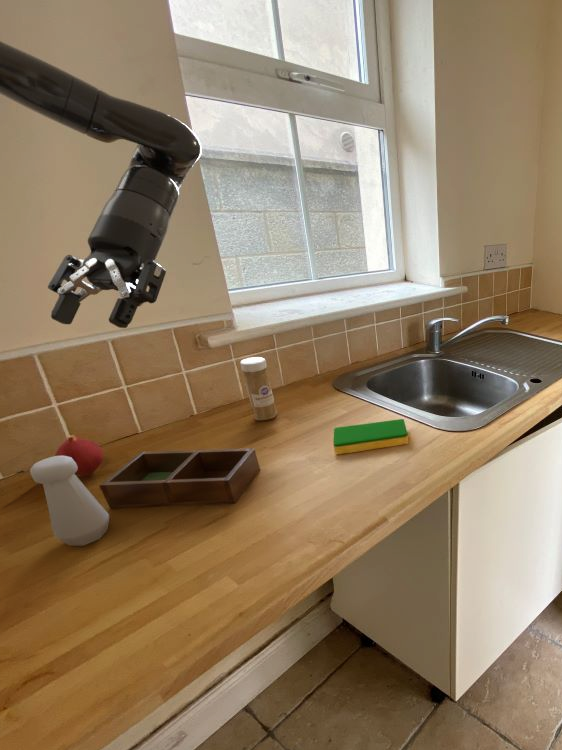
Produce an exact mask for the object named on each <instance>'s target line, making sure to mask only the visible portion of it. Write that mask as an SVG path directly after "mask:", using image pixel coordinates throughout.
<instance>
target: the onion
mask: <svg viewBox="0 0 562 750" xmlns="http://www.w3.org/2000/svg"><path fill="white" fill-rule="evenodd" d="M104 454H105V453H104V451H103V450H102V447H100V446H99V445H98V444H97V443H96V442H95V441H92V440H90V439H89V440H88V439H85V438H80V437H79V438H78V437H77V436H75V435H69V436H67V438H66V440H65V441H64V442H63V443H62V444H61V445H60V446H59V447H58V449H57V450H56V451H55V455H54V456H62V455H63V456H68V457H72V459H73V460H74V461H75V462H76V464H77V467H78V470H77V471H76V473H75V475H76V476H81V477H90V476H92V475H93V474H94V473H95V471H96V470H97V469H98V468H99V467H100V465H101V464H102V463H103V462H104V459H105V455H104Z"/></svg>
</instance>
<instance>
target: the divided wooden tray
mask: <svg viewBox="0 0 562 750" xmlns="http://www.w3.org/2000/svg"><path fill="white" fill-rule="evenodd" d="M260 471H261V468H260V463H259V460H258V456H257V453H256V449H255V448H227V449H225V448H224V449H223V448H222V449H192V450H191V449H188V450H187V449H186V450H157V451H156V450H155V451H151V450H150V451H139V453H137V454H136V455H135V456H134V457H132V458H131V459H130V460H128V461H127V462H126V463H125V464H124V465H122V466H121V467H120V468H119V469H117V470H116V471H115V472H114V473H113V474H111V475H110V476H109V477H107V478H106V479H105V480H104V481H102V482H101V483H100V484H99V488H100V490H101V492H102V494H103V496H104V499H105V501H106V503H107V506H108V507H109V509H110V510H114V509H116V510H117V509H139V508H140V509H141V508H160V507H162V508H163V507H183V506H184V507H185V506H205V505H206V506H207V505H230V504H231V505H232V504H236V503H237V502H238V501H239V499H240V498H241V496H242V495H243V494H244V493H245V491H246V490H247V488H249V486H250V484H251V483H252V481H253V480H254V479H255V478H256V476H257V475H258V474H259V472H260Z"/></svg>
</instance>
